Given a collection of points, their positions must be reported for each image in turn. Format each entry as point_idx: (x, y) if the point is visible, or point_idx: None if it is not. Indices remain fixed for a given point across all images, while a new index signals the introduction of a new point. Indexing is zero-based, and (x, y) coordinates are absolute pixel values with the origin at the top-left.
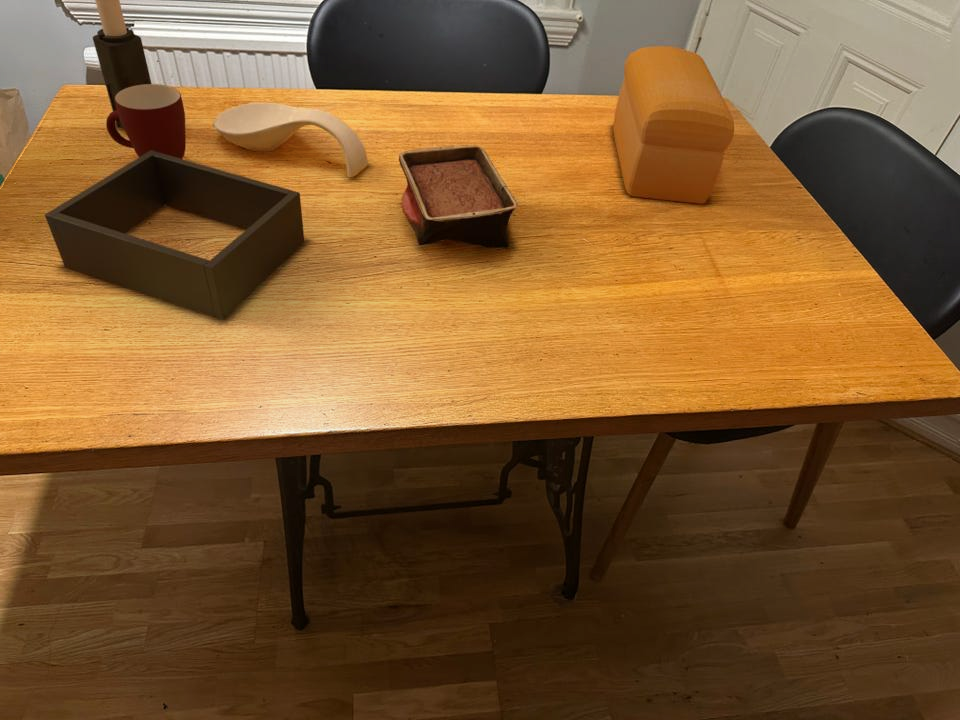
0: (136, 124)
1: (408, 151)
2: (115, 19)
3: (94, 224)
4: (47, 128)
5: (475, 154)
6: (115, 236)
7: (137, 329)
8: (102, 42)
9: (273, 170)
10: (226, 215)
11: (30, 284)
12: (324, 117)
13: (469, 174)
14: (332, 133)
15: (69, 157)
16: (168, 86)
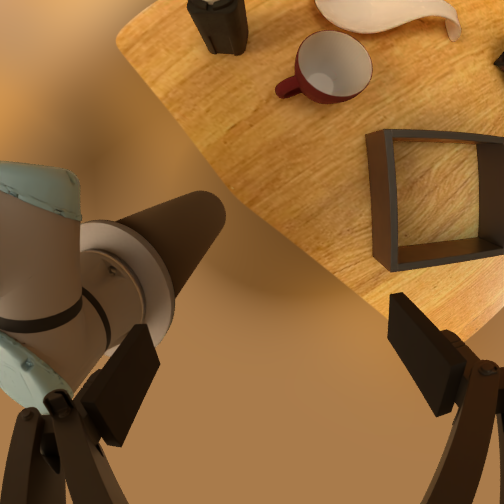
0: (345, 100)
1: None
2: None
3: (430, 260)
4: (161, 99)
5: None
6: (450, 263)
7: (448, 276)
8: (213, 12)
9: (399, 48)
10: (434, 141)
11: (366, 282)
12: (440, 4)
13: None
14: (454, 22)
15: (229, 123)
16: (330, 31)
